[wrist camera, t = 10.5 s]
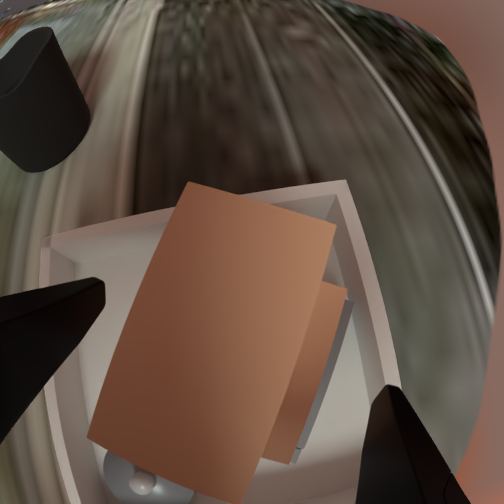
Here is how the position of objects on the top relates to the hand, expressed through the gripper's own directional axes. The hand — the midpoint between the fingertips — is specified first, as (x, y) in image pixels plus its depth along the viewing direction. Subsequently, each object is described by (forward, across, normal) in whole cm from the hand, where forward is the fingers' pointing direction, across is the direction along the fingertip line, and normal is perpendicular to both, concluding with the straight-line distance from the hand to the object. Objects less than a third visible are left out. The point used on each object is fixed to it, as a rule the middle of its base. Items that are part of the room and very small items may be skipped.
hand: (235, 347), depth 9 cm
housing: (+5, +1, +8) cm, 10 cm away
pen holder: (+14, +24, -1) cm, 27 cm away
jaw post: (+6, 0, +6) cm, 8 cm away
